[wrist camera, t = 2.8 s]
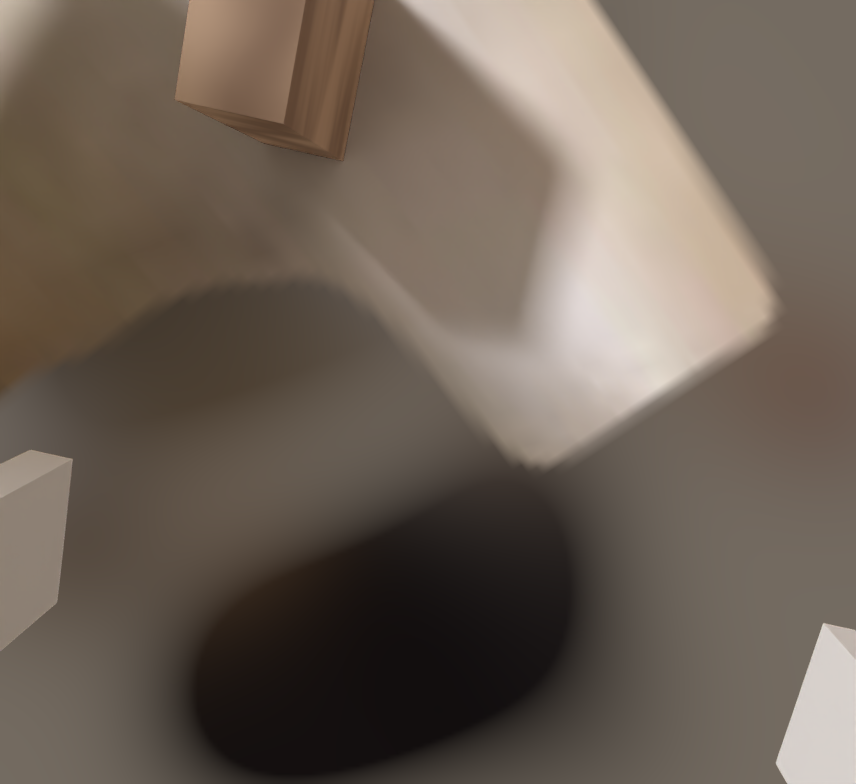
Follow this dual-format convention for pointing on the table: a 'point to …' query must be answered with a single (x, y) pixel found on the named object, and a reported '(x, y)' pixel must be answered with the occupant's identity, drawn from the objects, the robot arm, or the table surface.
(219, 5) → the brown rectangular block
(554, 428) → the table surface
